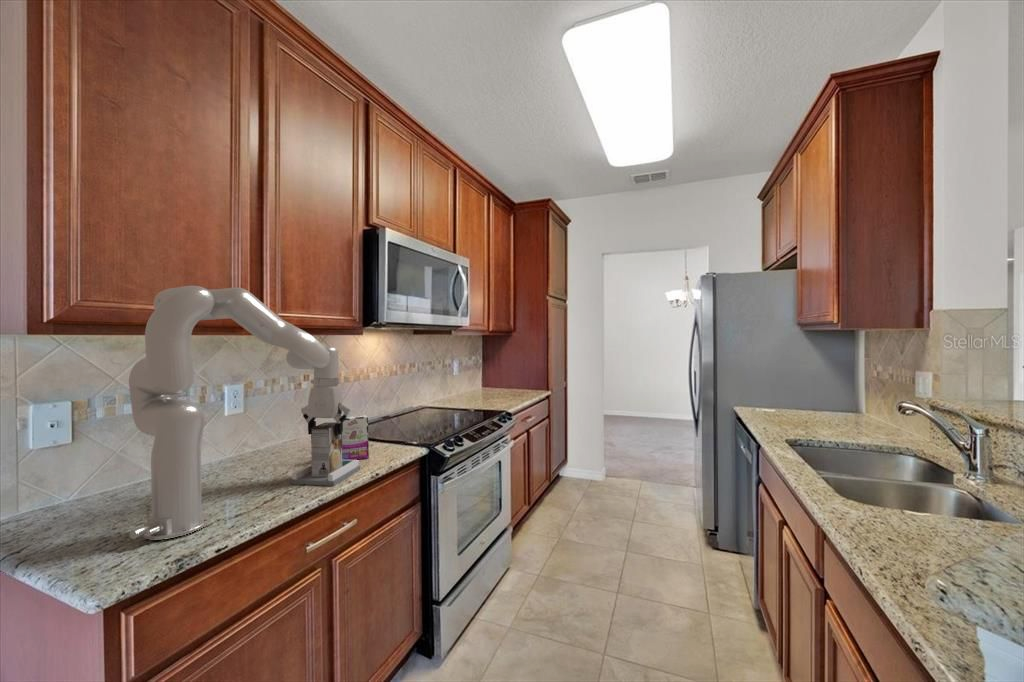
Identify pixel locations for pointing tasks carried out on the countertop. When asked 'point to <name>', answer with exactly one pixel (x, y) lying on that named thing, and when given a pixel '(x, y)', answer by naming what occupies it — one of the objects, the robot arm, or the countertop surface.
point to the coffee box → (325, 450)
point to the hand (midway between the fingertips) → (325, 434)
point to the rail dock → (333, 478)
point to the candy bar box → (355, 438)
